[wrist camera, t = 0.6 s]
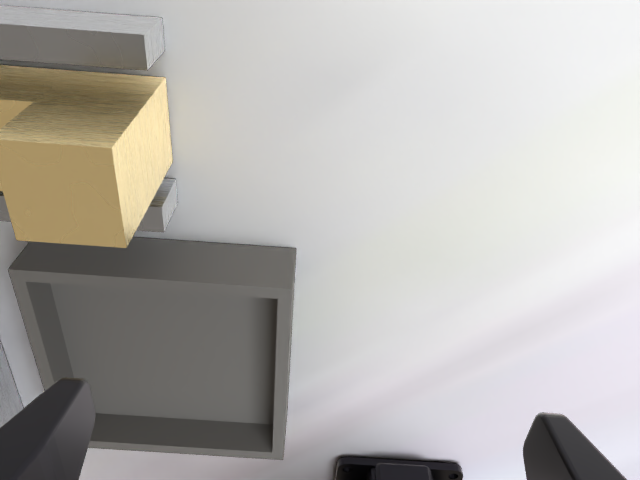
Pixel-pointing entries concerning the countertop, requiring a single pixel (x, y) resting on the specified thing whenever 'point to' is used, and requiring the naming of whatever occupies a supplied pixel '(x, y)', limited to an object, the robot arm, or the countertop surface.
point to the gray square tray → (167, 340)
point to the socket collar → (7, 391)
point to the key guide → (88, 62)
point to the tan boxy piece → (81, 153)
